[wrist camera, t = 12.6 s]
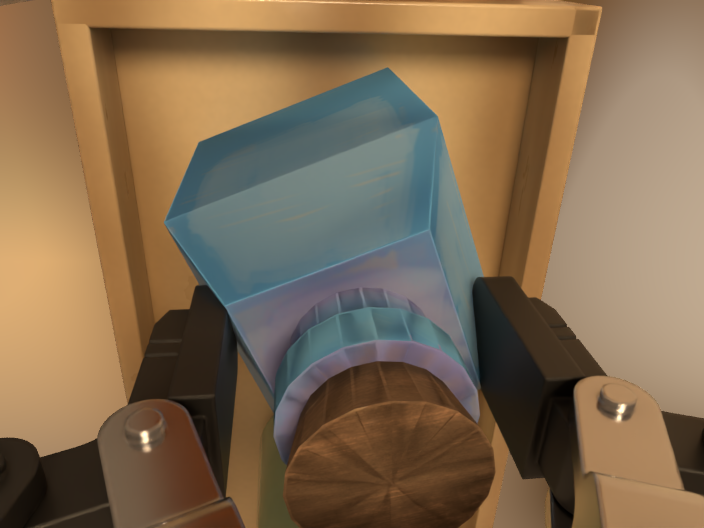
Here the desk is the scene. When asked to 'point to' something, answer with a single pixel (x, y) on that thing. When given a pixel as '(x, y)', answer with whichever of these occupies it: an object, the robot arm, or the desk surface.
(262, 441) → the sage bottle
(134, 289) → the tray stand
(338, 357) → the perfume bottle
